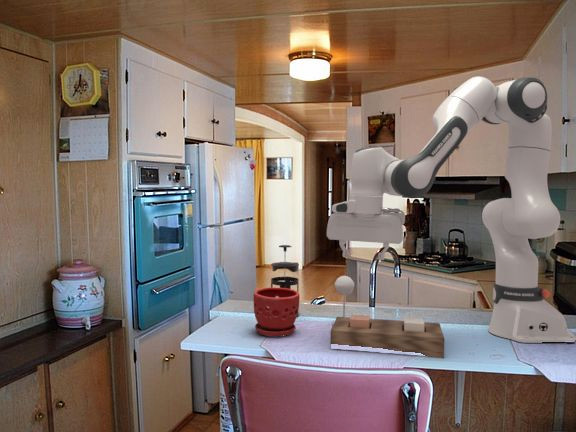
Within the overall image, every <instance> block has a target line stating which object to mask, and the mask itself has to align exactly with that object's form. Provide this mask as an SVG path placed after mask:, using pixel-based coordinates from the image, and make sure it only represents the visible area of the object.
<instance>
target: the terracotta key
mask: <svg viewBox="0 0 576 432" xmlns="http://www.w3.org/2000/svg"><path fill="white" fill-rule="evenodd" d="M370 319H371V315H366V314H365V315H363V314H351V315H350V327H354V328H368V329H370Z"/></svg>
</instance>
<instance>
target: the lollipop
mask: <svg viewBox="0 0 576 432" xmlns="http://www.w3.org/2000/svg"><path fill="white" fill-rule="evenodd" d="M334 289H335V291H336V292H337V293H338V295H341V296H343V304H342V305H343V308H342V309H343V310H342V313H343V315H342V317H346V314H345V313H346V296H348V295H350V294H352V292H353V291H354V289H355V282H354V280H353V279H352V278H351V277H350V276H347V275H341V276H339V277H337V279H336V280H335V282H334Z"/></svg>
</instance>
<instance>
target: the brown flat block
mask: <svg viewBox="0 0 576 432" xmlns="http://www.w3.org/2000/svg"><path fill="white" fill-rule="evenodd" d="M350 318H351V316H349V317H348V316H347V317H346V316H345V317H343V316H336V318H335V320H334V322H333V325H332V326H331V328H330V339H329V340H330V344H338V345H349V346H361V347H372V348H383V349H388V350H394V351H402V352H415V353H421V354H423V355H425V356H428V357H427V358H435V359H437V358H439V359H444V358H445V337H444V332H443V330H442V327H441V324H440V322H427V321H424V332H413V331H404V320H395V319H380V318H379V319H378V318H370V329H368V328H354V327H350Z"/></svg>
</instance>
